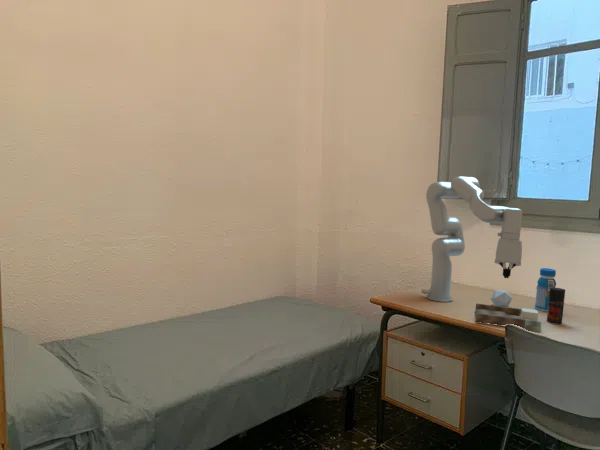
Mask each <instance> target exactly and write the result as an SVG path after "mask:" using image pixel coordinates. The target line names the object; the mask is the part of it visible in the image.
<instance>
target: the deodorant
mask: <svg viewBox="0 0 600 450" xmlns="http://www.w3.org/2000/svg"><path fill="white" fill-rule="evenodd" d="M565 297H566V289H564V288H560V287H555V288H550V294H549V304H548V312H547V316H546V322H547V323H549V324H554V325H561V324H562V323H563V318H564V317H563V316H564V315H563V314H564V305H565Z"/></svg>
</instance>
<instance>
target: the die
mask: <svg viewBox="0 0 600 450" xmlns="http://www.w3.org/2000/svg"><path fill="white" fill-rule="evenodd" d="M512 300H513V298H512V296H511V295H510V294H509V292H508V291H507V290H503V289H495V290H494V291H493V293H492V295H491V298H490V301H491V302H492V303H493V305H494V306H501V307H509V305H510V303H511V302H512Z"/></svg>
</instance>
